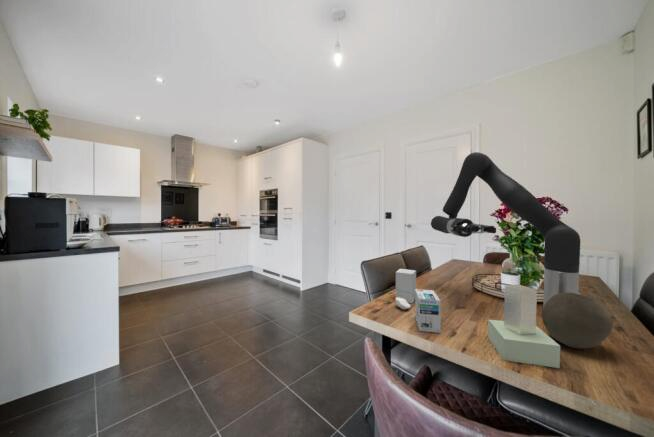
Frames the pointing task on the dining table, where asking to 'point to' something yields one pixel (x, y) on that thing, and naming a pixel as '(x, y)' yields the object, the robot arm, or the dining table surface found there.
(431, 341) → the dining table surface
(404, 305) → the dumpling
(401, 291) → the supplement box
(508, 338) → the green box
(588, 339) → the brown coconut
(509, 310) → the tea tin
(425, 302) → the light bulb box
